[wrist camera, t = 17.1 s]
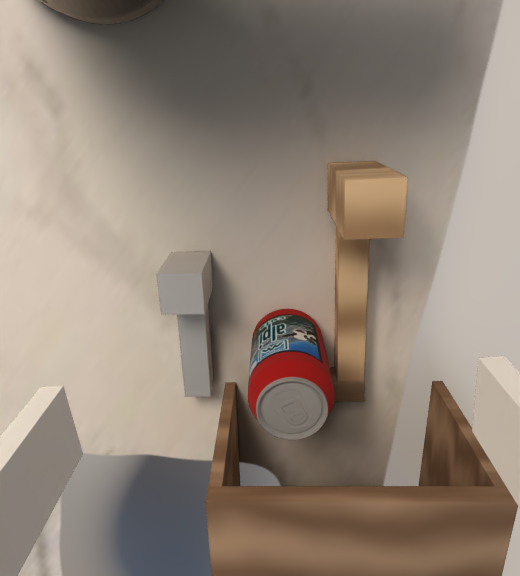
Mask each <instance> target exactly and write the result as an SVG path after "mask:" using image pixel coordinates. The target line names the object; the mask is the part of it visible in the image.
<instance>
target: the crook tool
mask: <svg viewBox="0 0 520 576" xmlns="http://www.w3.org/2000/svg"><path fill="white" fill-rule="evenodd" d="M407 179H408V177H406V176H404V175H402V174H400V173H398V172H396V171H394V170H392V169H390V168H388V167H386V166H384V165H382V164H380V163H378V162H376V161H363V162H341V163H328V211H329V213H330V215H331V217H332V219H333V220H334V222H335V224H336V261H335V339H334V367H329V369H330V374H331V378H332V383H333V388H334V402H344V401H364V390H365V382H364V362H365V337H366V312H367V287H368V262H369V239H377V238H403V237H404V224H405V209H406V194H407Z"/></svg>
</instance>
